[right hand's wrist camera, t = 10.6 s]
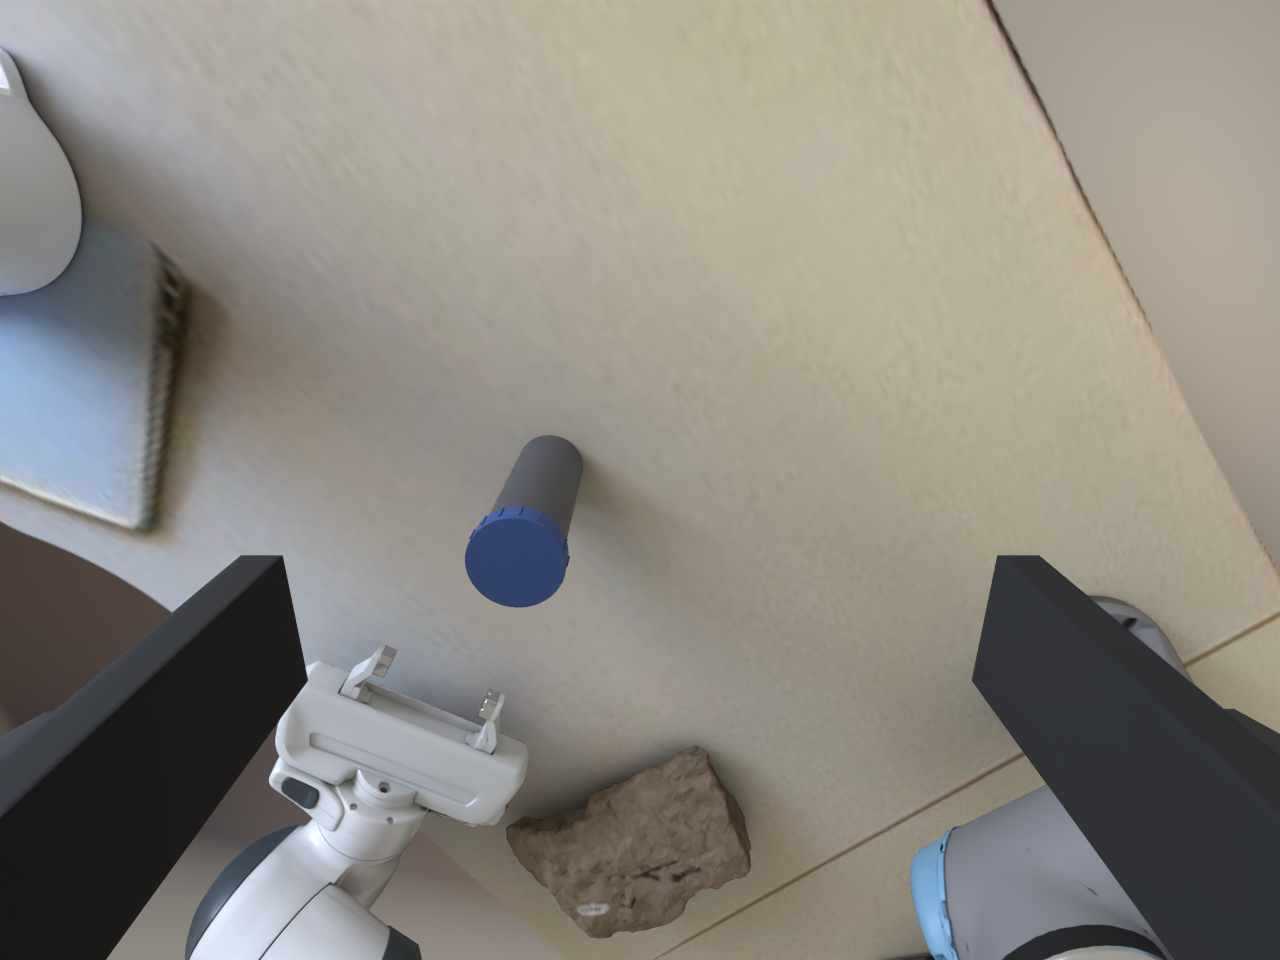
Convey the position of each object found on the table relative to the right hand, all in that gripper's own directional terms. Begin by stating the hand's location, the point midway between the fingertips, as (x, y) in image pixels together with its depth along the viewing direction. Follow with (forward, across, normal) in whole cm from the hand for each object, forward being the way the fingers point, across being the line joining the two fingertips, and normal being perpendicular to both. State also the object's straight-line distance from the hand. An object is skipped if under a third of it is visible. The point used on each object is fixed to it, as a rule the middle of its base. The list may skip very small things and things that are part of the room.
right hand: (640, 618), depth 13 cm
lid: (+24, +7, +11) cm, 28 cm away
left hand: (+35, +16, +27) cm, 47 cm away
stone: (+41, 0, +48) cm, 63 cm away
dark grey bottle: (+41, +7, +11) cm, 43 cm away
